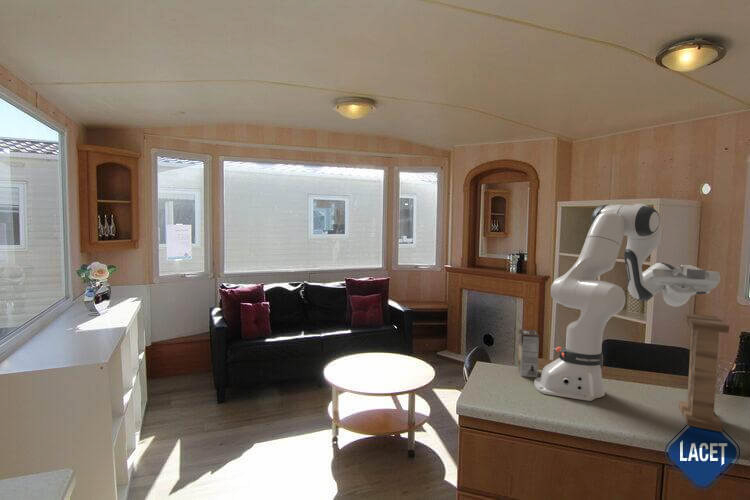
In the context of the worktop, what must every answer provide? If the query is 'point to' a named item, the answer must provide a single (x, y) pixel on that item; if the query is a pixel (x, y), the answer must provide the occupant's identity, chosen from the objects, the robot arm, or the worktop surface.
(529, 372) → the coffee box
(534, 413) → the worktop surface
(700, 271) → the jaw bar
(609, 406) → the worktop surface
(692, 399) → the stand
